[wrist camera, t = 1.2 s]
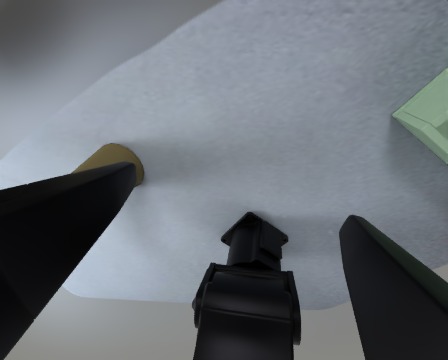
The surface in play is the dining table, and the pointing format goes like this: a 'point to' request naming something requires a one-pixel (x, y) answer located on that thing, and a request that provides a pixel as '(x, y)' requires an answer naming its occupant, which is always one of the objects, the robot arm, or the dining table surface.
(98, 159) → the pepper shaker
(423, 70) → the dining table surface
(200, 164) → the dining table surface
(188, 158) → the dining table surface
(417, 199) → the dining table surface
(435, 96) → the tray
